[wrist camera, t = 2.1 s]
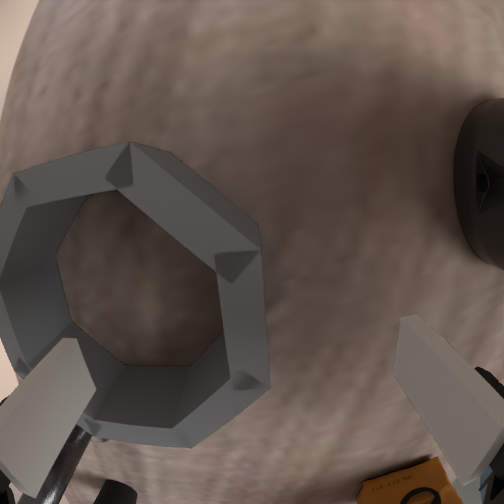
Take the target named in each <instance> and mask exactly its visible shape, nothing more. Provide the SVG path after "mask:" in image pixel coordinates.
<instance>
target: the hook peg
mask: <svg viewBox="0 0 504 504" xmlns="http://www.w3.org/2000/svg"><path fill="white" fill-rule="evenodd" d="M108 440H109V439H105V438H99V437H94V436H93V435H91V434H90V433H88V432H87V431H85V430H84V429H83V428H81V427H80V426H78V425H77V424H76V425H75V426H74V428H73V430H72V432H71V433H70V435H69V437H68V439H67V440H66V442H65V444H64V446H63V448H62V449H61V451H60V453H59V455H58V457H57V458H56V460H55V462H54V464H53V466H52V468H51V470H50V471H49V473H48V475H47V477H46V479H45V481H44V483H43V485H42V487H41V489H40V491H39V493H38V495H37V497H36V499H35V498H33V497H31V496H29V495H26V494H24V493H23V494H22V496H21V498H20V500H19V501H18V503H17V504H59V502H60V500H61V498H62V496H63V494H64V492H65V489H66V487H67V485H68V483H69V481H70V479H71V477H72V475H73V473H74V471H75V469H76V467H77V465H78V463H79V461H80V459H81V457H82V455H83V453H84V451H85V449H86V447H87V445H88V444H89V442H90V441H94V442H106V441H108Z"/></svg>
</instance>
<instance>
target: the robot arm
mask: <svg viewBox="0 0 504 504" xmlns="http://www.w3.org/2000/svg"><path fill="white" fill-rule="evenodd" d="M454 189H455V199H456V205H457V210H458V215H459V219H460V222H461V226H462V228H463V231H464V234H465V236H466V238H467V240H468V242H469V244H470V246H471V247H472V249H473V250H474V251H475V253H476V254H477V255H478V256H479V257H480V258H481V259H483V260H484V261H485V262H487V263H489V264H491V265H493V266H496V267H498V268H500V269H502V270H504V98H500V99H495V100H490V101H486V102H483V103H481V104H480V105H478V106H477V107H476V108H474V109H473V110H472V112H471V113H470V114H469V115H468V117H467V119H466V120H465V122H464V124H463V127H462V129H461V132H460V135H459V139H458V142H457V147H456V153H455V162H454ZM392 374H393V375H394V377H395V378H396V380H397V381H398V383H399V384H400V386H401V387H402V389H403V390H404V392H405V393H406V395H407V396H408V398H409V400H410V401H411V403H412V404H413V406H414V407H415V409H416V410H417V412H418V414H419V415H420V417H421V418H422V420H423V421H424V423H425V425H426V426H427V428H428V429H429V431H430V433H431V434H432V436H433V437H434V439H435V441H436V442H437V444H438V446H439V447H440V449H441V451H442V452H443V454H444V456H445V457H446V459H447V461H448V462H449V464H450V466H451V467H452V469H453V471H454V473H455V474H456V476H457V478H458V479H459V481H460V483H461V484H462V486H464V485H466V484H468V483H470V482H472V481H474V480H475V479H477V478H479V477H480V489H479V491H481V499H482V504H504V386H503V385H502V384H501V383H499V381H498V380H497V379H496V378H495V377H494V376H493V375H492V374H491V373H490V372H488V371H486V370H484V369H482V368H480V367H476V368H473V367H472V366H471V365H470V364H469V363H468V362H467V361H466V360H465V359H464V358H463V357H462V356H461V355H460V354H459V353H458V352H457V351H456V350H455V349H454V348H453V347H452V346H451V345H450V344H449V343H447V342H446V341H445V340H444V339H443V338H442V337H441V336H440V335H439V334H438V333H437V332H436V331H435V330H434V329H433V328H432V327H430V326H429V325H428V324H427V323H426V322H425V321H424V320H423V319H422V318H421V317H420V316H418V315H417V314H414V315H409V316H404V317H401V321H400V328H399V334H398V341H397V347H396V352H395V358H394V363H393V368H392ZM95 391H96V388H95V385H94V383H93V380H92V378H91V376H90V373H89V371H88V368H87V366H86V363H85V360H84V358H83V355H82V352H81V349H80V347H79V344H78V341H77V338H62V339H61V340H60V341H59V342H58V344H57V345H56V346H55V347H54V348H53V349H52V350H51V351H50V352H49V353H48V354H47V355H46V356H45V357H44V358H43V359H42V360H41V361H40V362H39V363H38V365H37V366H36V367H35V368H34V369H33V370H32V371H31V372H30V373H29V374H28V375H27V376H26V378H25V379H24V380H23V381H22V382H21V383H20V384H19V385H18V387H17V388H16V389H15V390H14V391H13V392H12V393H11V395H9V396H8V397H6V398H5V399H3V400H2V401H1V403H0V504H15V500H14V495H13V492H12V490H11V488H9V484H10V482H12V483H13V484H14V485H15V487H16V488H17V489H18V490H19V491H21V492H22V493H24V494H26V495H29V496H31V497H33V498H35V499H36V497H37V495H38V493H39V491H40V489H41V487H42V485H43V483H44V481H45V479H46V477H47V475H48V473H49V471H50V470H51V468H52V466H53V464H54V462H55V460H56V458H57V457H58V455H59V453H60V451H61V449H62V448H63V446H64V444H65V442H66V440H67V439H68V437H69V435H70V433H71V432H72V430H73V428H74V426H75V425H76V423H77V421H78V420H79V418H80V416H81V414H82V413H83V411H84V409H85V408H86V406H87V404H88V403H89V401H90V399H91V398H92V396H93V394H94V393H95Z"/></svg>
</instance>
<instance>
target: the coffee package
mask: <svg viewBox="0 0 504 504" xmlns="http://www.w3.org/2000/svg"><path fill="white" fill-rule="evenodd" d="M356 501H357V503H358V504H463V502H462V500H461V499H460V497H459V496H458V494H457V492H456V489H455V488H454V487H453V486H452V485H451V483H450V482H449V479H448V477H447V474H446V472H445V470H444V468H443V466H442V464H441V462H440V460H439V457H435V458H433V459H431V460H429V461H427V462H424V463H422V464H419V465H416V466H414V467H411V468H408V469H404V470H400V471H396V472H393V473H390V474H387V475H384V476H381V477H378V478H375V479H372V480H367V481H364V482H363V488H362V489H361V491H360V493H359V495H358V496H357V497H356Z"/></svg>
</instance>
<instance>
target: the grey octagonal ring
mask: <svg viewBox="0 0 504 504" xmlns="http://www.w3.org/2000/svg"><path fill="white" fill-rule="evenodd" d="M116 190H118V191H120V192H121V193H122V194H123V195H124V196H125V197H126V198H128V199H129V200H130V201H131V202H132V203H133V204H135V205H136V206H137V207H138V208H139V209H140V210H142V211H143V212H144V213H145V214H146V215H147V216H149V217H150V218H151V219H152V220H153V221H155V222H156V223H157V224H158V225H159V226H161V227H162V228H163V229H164V230H165V231H166V232H168V233H169V234H170V235H171V236H172V237H174V238H175V239H176V240H177V241H179V242H180V243H181V244H182V245H183V246H185V247H186V248H187V249H188V250H189V251H191V252H192V253H193V254H194V255H196V256H197V257H198V258H199V259H201V260H202V261H203V262H204V263H205V264H207V265H208V266H209V267H210V268H212V269H213V270H214V271H215V272H216V274H217V282H218V290H219V298H220V306H221V314H222V321H223V329H224V332H223V333H222V334H221V335H220V336H219V337H218V338H217V339H216V340H215V341H214V342H213V343H212V344H211V345H210V346H209V347H208V349H207V350H206V351H205V352H204V353H203V354H202V355H201V356H200V357H199V358H198V359H197V360H196V361H195V362H194V363H193V364H192V365H191V366H138V365H124V364H123V363H122V362H120V361H119V360H118V359H117V358H115V357H114V356H113V355H111V354H110V353H109V352H108V351H106V350H105V349H104V348H103V347H101V346H100V345H99V344H98V343H97V342H95V341H94V340H93V339H92V338H91V337H89V336H88V335H87V334H86V333H85V332H84V331H82V330H81V329H80V328H79V327H78V326H77V325H76V324H74V323H73V322H72V319H71V316H70V312H69V309H68V305H67V302H66V298H65V294H64V291H63V287H62V283H61V279H60V274H59V270H58V265H57V261H56V256H55V255H56V253H57V250H58V248H59V246H60V244H61V243H62V241H63V239H64V237H65V235H66V233H67V231H68V229H69V227H70V225H71V224H72V222H73V220H74V218H75V216H76V215H77V213H78V211H79V209H80V208H81V206H82V204H83V202H84V201H85V199H86V197H87V196H88V195H93V194H99V193H104V192H110V191H116ZM0 338H1V341H2V343H3V345H4V348H5V351H6V353H7V355H8V358H9V360H10V362H11V364H12V367H13V369H14V371H15V372H16V373H17V374H18V375H19V376H20V377H21V378H22V379H23V380H24V379H25V378H26V376H27V375H28V374H29V373H30V372H31V371H32V370H33V369H34V368H35V367H36V366H37V365H38V363H39V362H40V361H41V360H42V359H43V358H44V357H45V356H46V355H47V354H48V353H49V352H50V351H51V350H52V349H53V348H54V347H55V346H56V345H57V344H58V342H59V341H60V340H61V339H62V338H77V341H78V344H79V347H80V349H81V352H82V355H83V358H84V360H85V363H86V366H87V368H88V371H89V373H90V376H91V378H92V380H93V383H94V385H95V388H96V391H95V393H94V394H93V396H92V398H91V399H90V401H89V403H88V404H87V406H86V408H85V409H84V411H83V413H82V414H81V416H80V418H79V420H78V421H77V423H76V424H77V425H78V426H80V427H81V428H83V429H84V430H85V431H87V432H88V433H90V434H91V435H93V436H94V437H99V438H105V439H110V440H116V441H123V442H130V443H137V444H145V445H155V446H165V447H179V448H193V447H194V446H196V445H197V444H198V443H200V442H201V441H203V440H204V439H206V438H207V437H208V436H210V435H211V434H212V433H214V432H215V431H217V430H218V429H219V428H221V427H222V426H223V425H225V424H226V423H227V422H229V421H230V420H231V419H233V418H234V417H235V416H236V415H238V414H239V413H240V412H242V411H243V410H244V409H245V408H247V407H248V406H249V405H250V404H252V403H253V402H254V401H255V400H257V399H258V398H259V397H260V396H261V395H263V394H264V393H265V392H266V391H267V390H269V389H270V388H271V386H270V374H269V358H268V343H267V328H266V313H265V299H264V284H263V270H262V256H261V244H260V237H259V230H258V224H256V223H255V222H254V221H253V220H252V219H251V218H249V217H248V216H247V215H246V214H245V213H243V212H242V211H241V210H240V209H239V208H237V207H236V206H235V205H234V204H233V203H231V202H230V201H229V200H228V199H227V198H225V197H224V196H223V195H222V194H221V193H219V192H218V191H217V190H216V189H215V188H213V187H212V186H211V185H210V184H209V183H207V182H206V181H205V180H204V179H202V178H201V177H200V176H199V175H198V174H196V173H195V172H194V171H193V170H191V169H190V168H189V167H188V166H187V165H185V164H184V163H183V162H182V161H180V160H179V159H178V158H177V157H175V156H174V155H173V154H172V153H171V152H168V151H164V150H161V149H157V148H153V147H149V146H145V145H142V144H138V143H134V142H130V141H129V142H126V143H121V144H116V145H112V146H107V147H103V148H99V149H94V150H90V151H86V152H82V153H79V154H75V155H71V156H67V157H64V158H60V159H57V160H53V161H50V162H47V163H44V164H40V165H37V166H34V167H31V168H28V169H25V170H22V171H19V172H16V173H13V176H12V178H11V181H10V183H9V185H8V188H7V190H6V192H5V195H4V197H3V200H2V203H1V205H0Z"/></svg>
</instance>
